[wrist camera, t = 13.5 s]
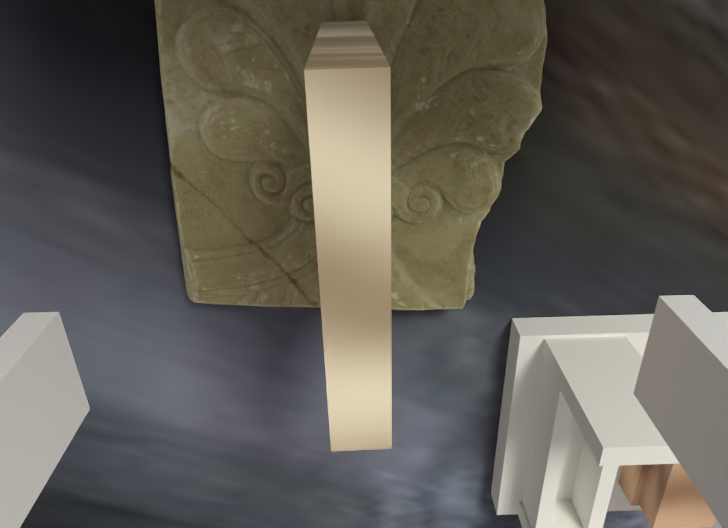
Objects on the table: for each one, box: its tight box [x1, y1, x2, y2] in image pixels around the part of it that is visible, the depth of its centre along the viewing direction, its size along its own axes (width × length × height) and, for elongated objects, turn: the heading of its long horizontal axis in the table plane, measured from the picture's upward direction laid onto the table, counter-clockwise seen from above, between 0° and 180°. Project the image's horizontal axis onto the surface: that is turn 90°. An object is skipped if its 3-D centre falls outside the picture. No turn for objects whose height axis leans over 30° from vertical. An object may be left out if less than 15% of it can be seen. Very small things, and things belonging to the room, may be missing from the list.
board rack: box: [491, 312, 728, 528], centre depth 35 cm, size 16×14×11 cm
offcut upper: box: [638, 464, 716, 528], centre depth 36 cm, size 8×4×2 cm, turn 1°
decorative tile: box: [154, 0, 547, 310], centre depth 30 cm, size 19×20×4 cm
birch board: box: [304, 20, 392, 451], centre depth 22 cm, size 12×2×14 cm, turn 1°
